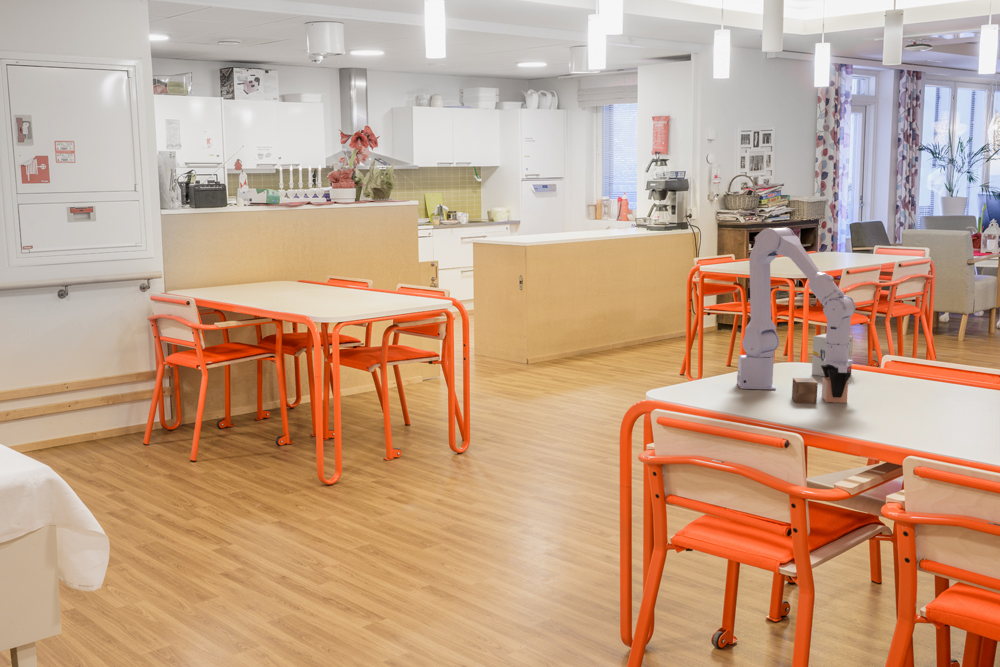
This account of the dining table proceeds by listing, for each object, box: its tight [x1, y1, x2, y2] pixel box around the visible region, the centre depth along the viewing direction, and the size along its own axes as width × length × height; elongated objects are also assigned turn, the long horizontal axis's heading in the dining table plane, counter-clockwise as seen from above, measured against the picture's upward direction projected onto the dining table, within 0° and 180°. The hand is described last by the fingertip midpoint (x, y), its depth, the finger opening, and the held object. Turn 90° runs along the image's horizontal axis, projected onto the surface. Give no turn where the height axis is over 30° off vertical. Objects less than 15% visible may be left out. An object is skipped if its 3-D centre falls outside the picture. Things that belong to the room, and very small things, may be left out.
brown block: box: [791, 377, 819, 404], centre depth 243 cm, size 5×5×6 cm
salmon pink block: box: [821, 376, 849, 403], centre depth 244 cm, size 5×5×6 cm
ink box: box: [811, 333, 854, 377], centre depth 276 cm, size 9×9×12 cm
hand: (834, 394), depth 245 cm, fingers closed on salmon pink block, 5 cm apart
